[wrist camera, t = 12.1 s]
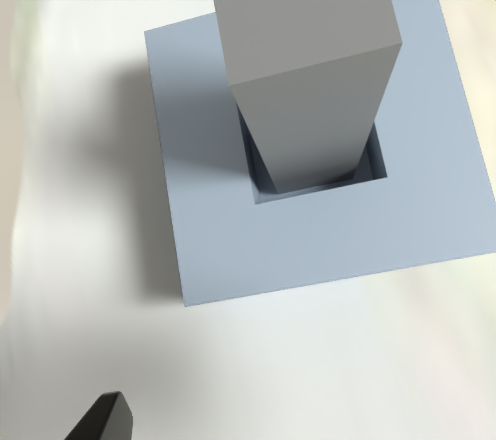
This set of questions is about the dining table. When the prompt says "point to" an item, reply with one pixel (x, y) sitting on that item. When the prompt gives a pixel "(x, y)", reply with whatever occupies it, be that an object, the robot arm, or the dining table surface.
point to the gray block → (308, 80)
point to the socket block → (326, 196)
